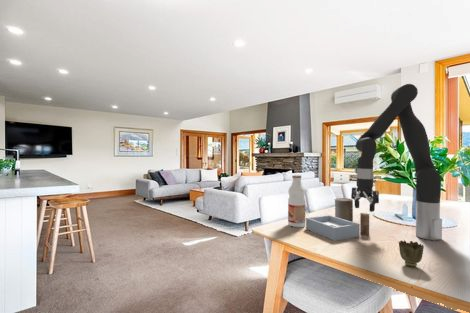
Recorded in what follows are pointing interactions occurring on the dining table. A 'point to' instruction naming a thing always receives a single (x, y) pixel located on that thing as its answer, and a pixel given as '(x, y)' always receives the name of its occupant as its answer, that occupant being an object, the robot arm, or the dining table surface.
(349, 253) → the dining table surface
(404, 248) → the mottled brown rounded lump
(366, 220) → the peg
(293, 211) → the fruit juice
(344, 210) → the pillar candle
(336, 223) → the box
